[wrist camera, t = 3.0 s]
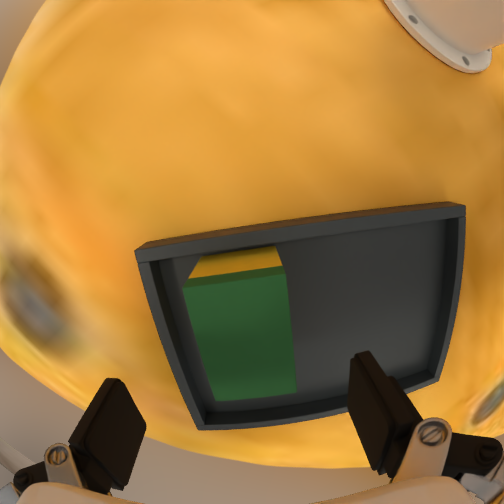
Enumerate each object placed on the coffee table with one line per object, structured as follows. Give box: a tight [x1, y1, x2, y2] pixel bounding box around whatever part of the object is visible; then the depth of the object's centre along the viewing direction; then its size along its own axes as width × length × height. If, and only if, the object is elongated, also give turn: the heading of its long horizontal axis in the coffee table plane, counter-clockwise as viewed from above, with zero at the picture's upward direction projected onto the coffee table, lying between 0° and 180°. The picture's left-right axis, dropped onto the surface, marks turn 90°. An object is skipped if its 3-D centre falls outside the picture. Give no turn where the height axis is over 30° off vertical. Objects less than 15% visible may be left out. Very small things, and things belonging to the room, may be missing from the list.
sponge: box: [182, 246, 297, 401], centre depth 15 cm, size 7×4×5 cm, turn 9°
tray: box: [135, 202, 466, 430], centre depth 17 cm, size 16×22×2 cm
